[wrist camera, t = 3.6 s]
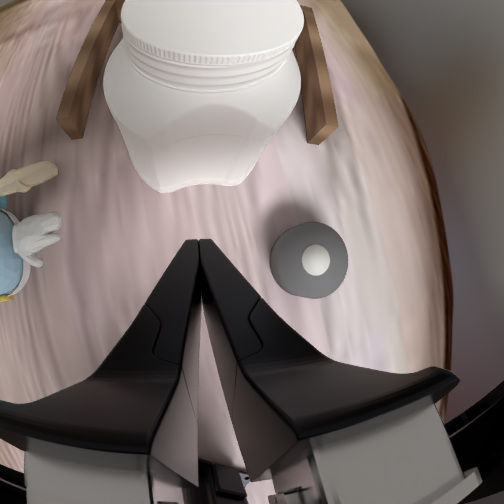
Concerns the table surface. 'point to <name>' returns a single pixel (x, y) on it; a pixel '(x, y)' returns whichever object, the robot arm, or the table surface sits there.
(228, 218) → the table surface
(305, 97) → the wooden tray
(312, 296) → the wheel
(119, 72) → the jar
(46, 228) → the blue winged piece
